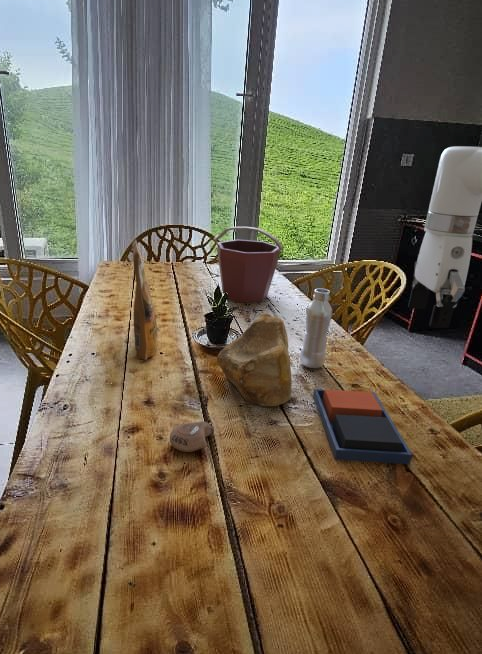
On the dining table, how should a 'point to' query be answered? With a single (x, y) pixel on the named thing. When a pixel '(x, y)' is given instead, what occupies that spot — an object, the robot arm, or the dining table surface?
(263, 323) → the rough brown rock
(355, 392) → the orange red rectangular block
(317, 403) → the pad frame
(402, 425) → the dining table surface
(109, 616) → the dining table surface
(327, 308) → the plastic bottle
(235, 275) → the bucket
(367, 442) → the pad
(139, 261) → the pancake mix bag
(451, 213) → the robot arm
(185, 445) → the oil lamp
